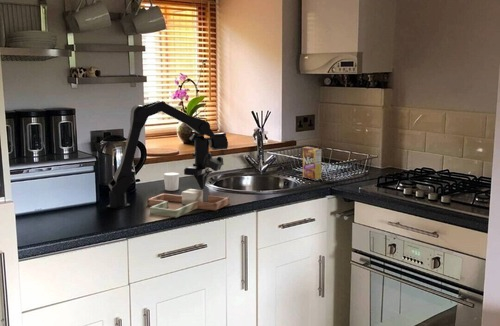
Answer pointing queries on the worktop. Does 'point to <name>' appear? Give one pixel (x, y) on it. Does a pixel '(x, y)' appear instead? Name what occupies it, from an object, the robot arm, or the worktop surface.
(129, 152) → the robot arm
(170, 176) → the white cup
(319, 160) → the candy box
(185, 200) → the cream block
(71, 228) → the worktop surface
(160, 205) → the channel
